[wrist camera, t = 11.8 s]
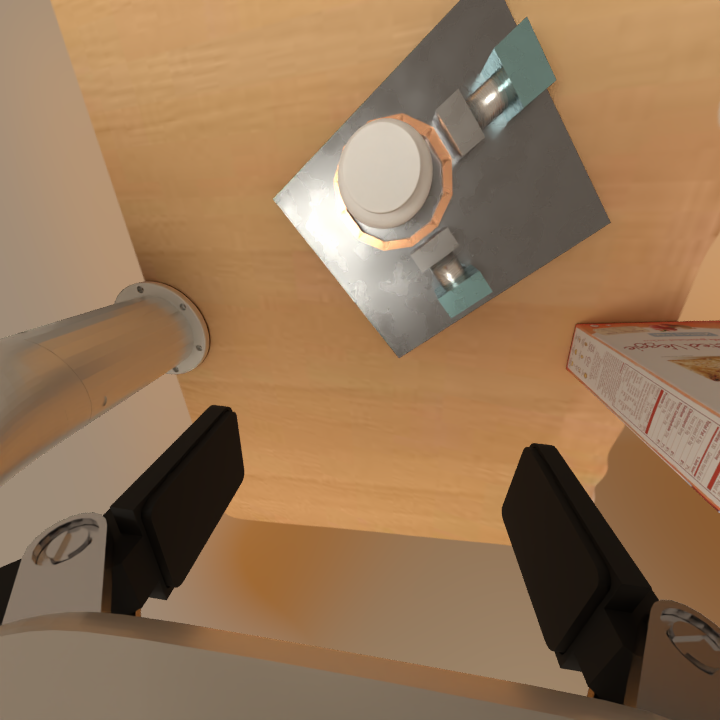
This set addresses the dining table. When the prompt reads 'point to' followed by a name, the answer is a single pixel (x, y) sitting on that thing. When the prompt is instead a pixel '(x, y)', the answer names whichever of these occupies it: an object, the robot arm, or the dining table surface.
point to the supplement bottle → (385, 173)
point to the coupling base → (455, 180)
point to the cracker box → (660, 389)
